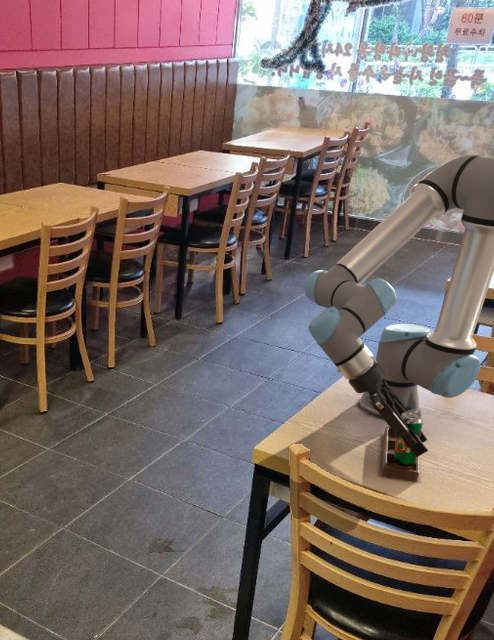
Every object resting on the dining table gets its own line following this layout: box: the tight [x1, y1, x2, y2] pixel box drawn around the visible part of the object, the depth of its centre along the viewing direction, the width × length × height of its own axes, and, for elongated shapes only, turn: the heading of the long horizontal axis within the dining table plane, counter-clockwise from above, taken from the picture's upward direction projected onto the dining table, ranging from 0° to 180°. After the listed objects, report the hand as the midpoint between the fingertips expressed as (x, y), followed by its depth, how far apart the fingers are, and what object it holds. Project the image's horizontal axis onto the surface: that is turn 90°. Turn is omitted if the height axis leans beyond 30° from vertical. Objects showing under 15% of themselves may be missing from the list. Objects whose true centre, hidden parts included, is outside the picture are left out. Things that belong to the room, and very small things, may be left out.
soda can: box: [393, 412, 424, 467], centre depth 169 cm, size 5×5×12 cm
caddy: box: [381, 426, 420, 483], centre depth 178 cm, size 22×8×2 cm, turn 162°
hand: (422, 447), depth 169 cm, fingers closed on soda can, 5 cm apart
